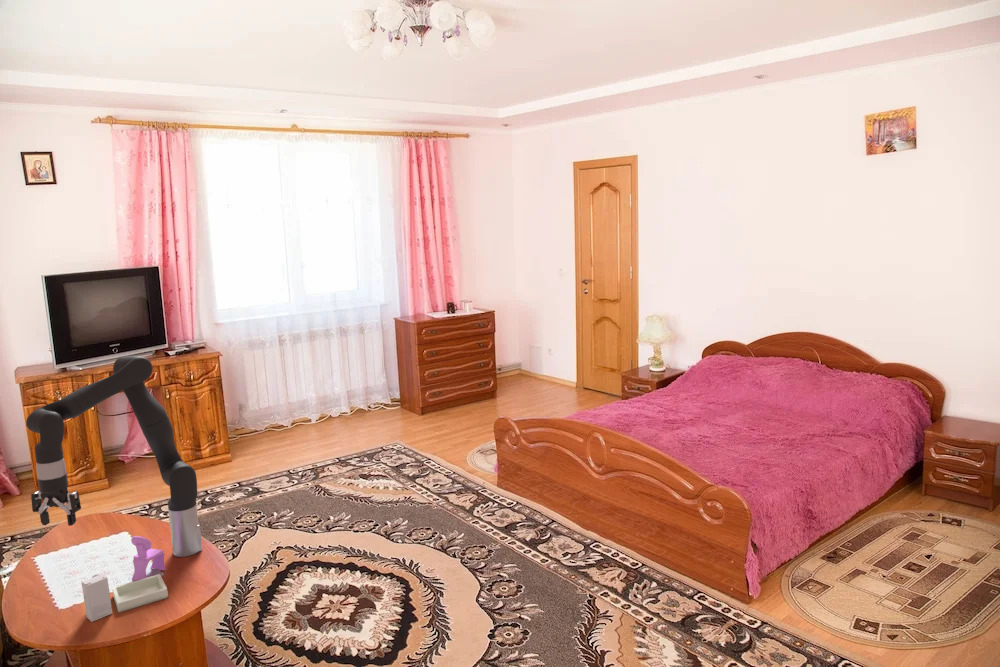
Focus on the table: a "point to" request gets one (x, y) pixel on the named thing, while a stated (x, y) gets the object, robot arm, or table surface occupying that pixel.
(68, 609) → the table surface
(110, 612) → the skincare box
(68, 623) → the table surface
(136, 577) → the toy chair
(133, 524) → the table surface
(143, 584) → the tray
